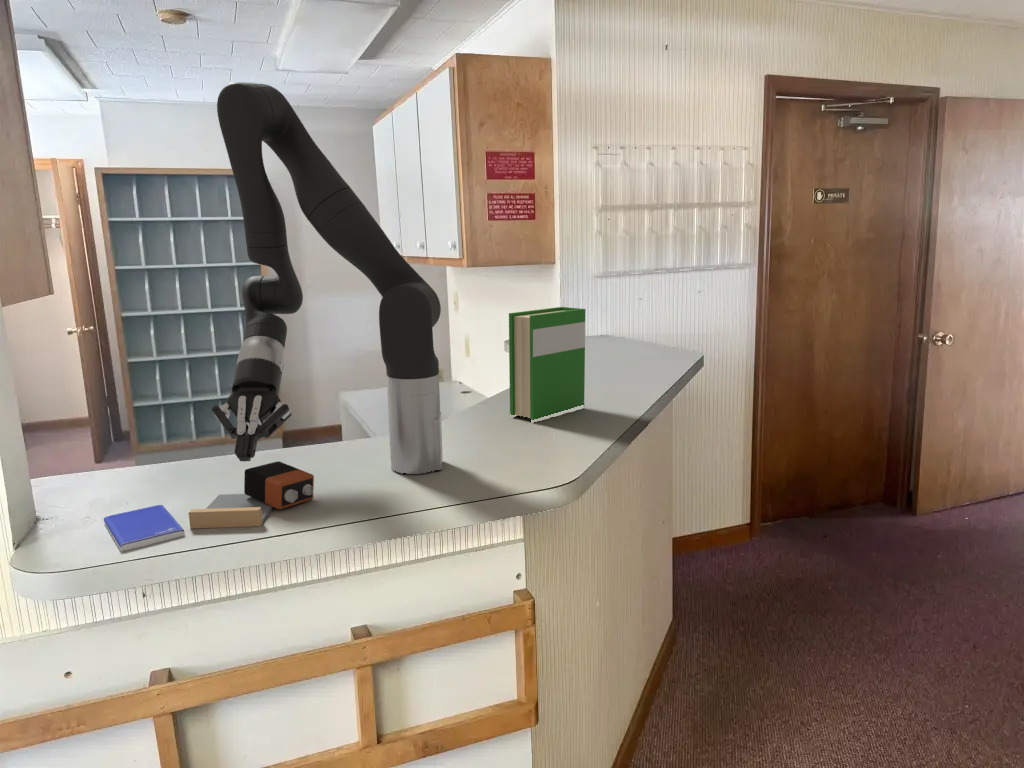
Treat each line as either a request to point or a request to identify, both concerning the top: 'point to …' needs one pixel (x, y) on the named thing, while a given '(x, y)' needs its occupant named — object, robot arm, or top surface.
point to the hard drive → (142, 527)
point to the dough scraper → (230, 512)
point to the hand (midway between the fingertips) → (243, 459)
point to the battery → (278, 484)
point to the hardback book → (546, 361)
